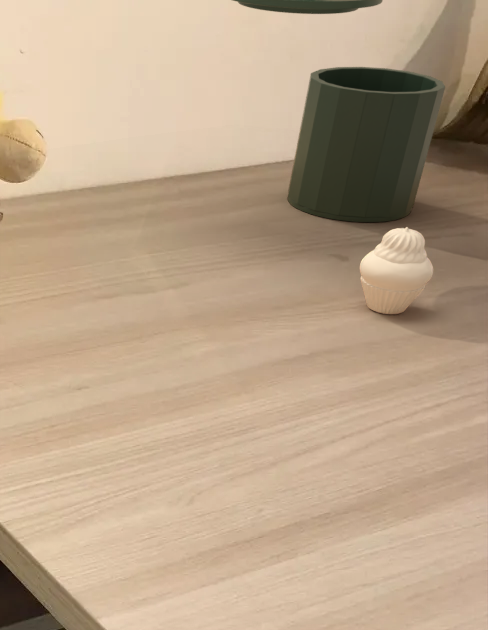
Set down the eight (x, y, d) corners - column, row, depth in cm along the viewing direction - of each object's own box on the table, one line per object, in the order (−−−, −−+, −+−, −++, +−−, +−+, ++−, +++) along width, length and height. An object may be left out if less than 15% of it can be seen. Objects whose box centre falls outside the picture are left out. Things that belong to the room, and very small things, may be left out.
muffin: (340, 296, 95) (358, 216, 90) (403, 294, 95) (425, 215, 91) (366, 322, 90) (388, 239, 85) (433, 320, 90) (458, 238, 86)
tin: (405, 191, 121) (437, 71, 113) (416, 227, 111) (451, 97, 103) (287, 182, 123) (310, 63, 115) (286, 216, 113) (311, 88, 105)
